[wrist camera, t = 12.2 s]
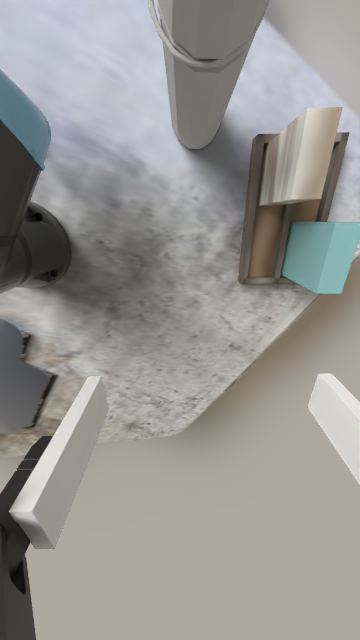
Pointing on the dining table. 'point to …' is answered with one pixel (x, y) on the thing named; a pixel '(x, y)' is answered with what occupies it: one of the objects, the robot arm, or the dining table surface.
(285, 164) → the track base
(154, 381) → the dining table surface
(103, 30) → the dining table surface
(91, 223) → the dining table surface
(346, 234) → the teal door
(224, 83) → the water bottle
